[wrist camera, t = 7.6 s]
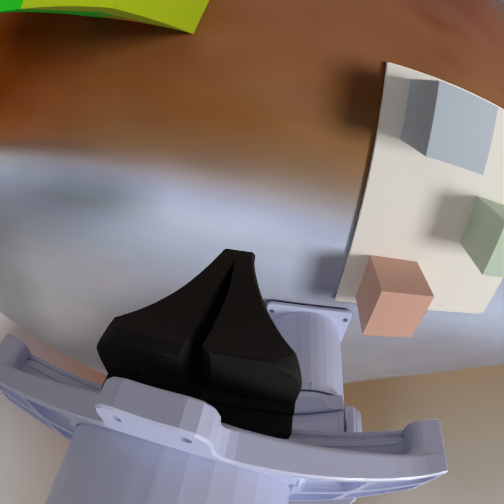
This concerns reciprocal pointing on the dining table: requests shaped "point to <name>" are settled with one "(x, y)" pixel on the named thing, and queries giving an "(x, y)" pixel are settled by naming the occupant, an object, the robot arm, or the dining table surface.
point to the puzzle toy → (120, 10)
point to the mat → (422, 207)
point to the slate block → (448, 124)
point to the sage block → (486, 237)
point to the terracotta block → (392, 297)
